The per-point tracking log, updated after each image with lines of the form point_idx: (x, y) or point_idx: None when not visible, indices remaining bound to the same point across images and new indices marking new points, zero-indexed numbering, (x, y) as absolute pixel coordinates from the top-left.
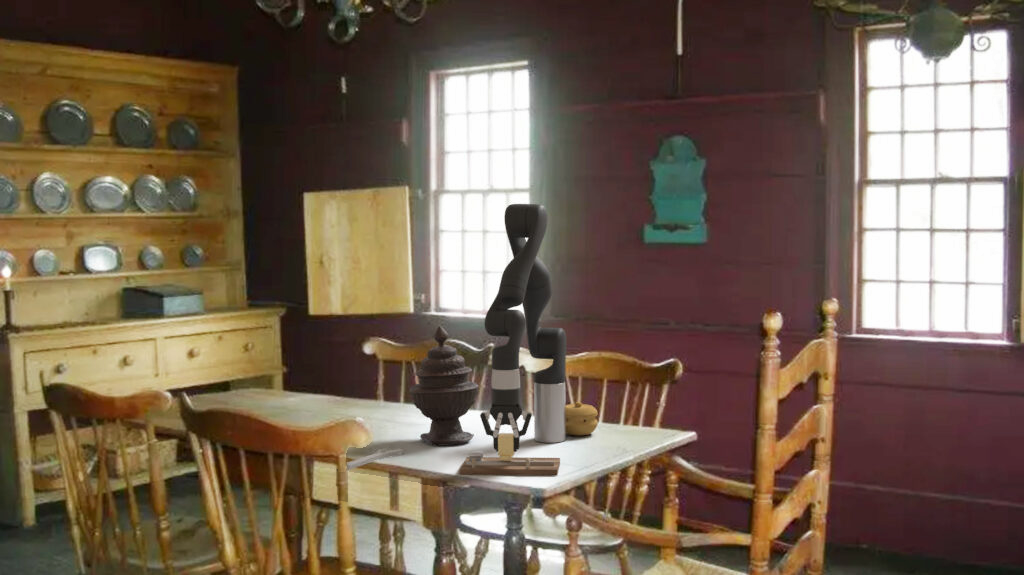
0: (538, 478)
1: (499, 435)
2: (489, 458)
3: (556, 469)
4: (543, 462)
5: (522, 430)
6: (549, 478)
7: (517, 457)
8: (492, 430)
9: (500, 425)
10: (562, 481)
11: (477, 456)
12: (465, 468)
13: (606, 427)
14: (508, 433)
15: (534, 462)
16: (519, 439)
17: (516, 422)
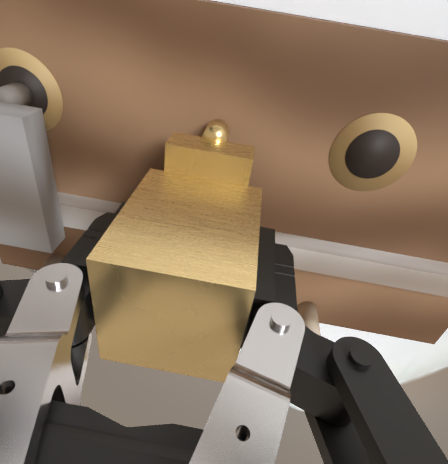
0: (331, 340)
1: (107, 342)
2: (84, 33)
3: (432, 340)
4: (408, 287)
5: (320, 436)
6: (374, 347)
7: (301, 18)
8: (5, 328)
9: (62, 393)
10: (405, 381)
11: (35, 248)
12: (26, 263)
13: None
14: (185, 286)
15: (358, 278)
16: (295, 299)
17: (272, 456)
